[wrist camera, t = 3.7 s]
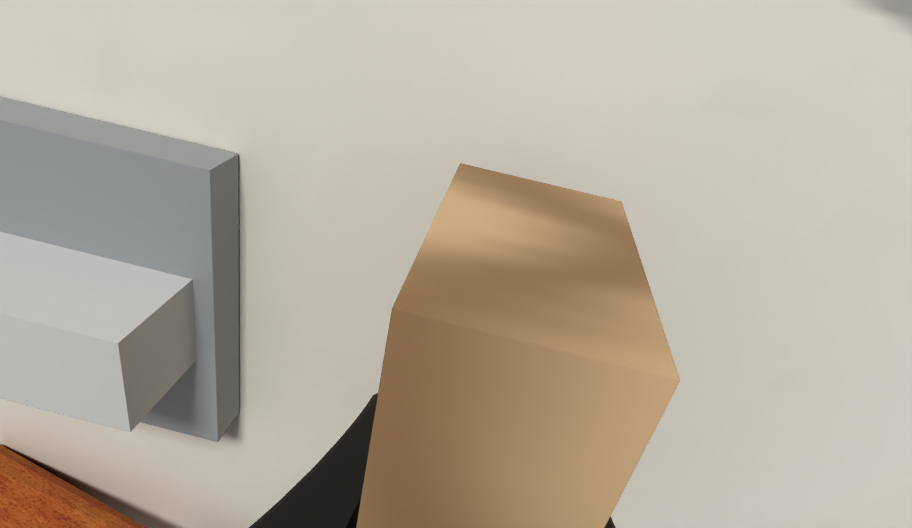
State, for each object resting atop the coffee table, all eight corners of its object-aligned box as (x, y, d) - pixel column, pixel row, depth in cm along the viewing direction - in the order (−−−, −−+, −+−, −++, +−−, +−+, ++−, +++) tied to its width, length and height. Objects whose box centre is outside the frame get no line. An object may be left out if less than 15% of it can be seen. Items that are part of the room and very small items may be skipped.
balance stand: (238, 153, 12) (128, 217, 9) (239, 411, 16) (162, 521, 13) (-54, 83, 12) (-264, 122, 9) (15, 354, 16) (-115, 447, 13)
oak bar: (621, 201, 10) (679, 380, 5) (488, 561, 15) (464, 799, 11) (460, 163, 10) (392, 308, 6) (384, 534, 15) (318, 757, 11)
